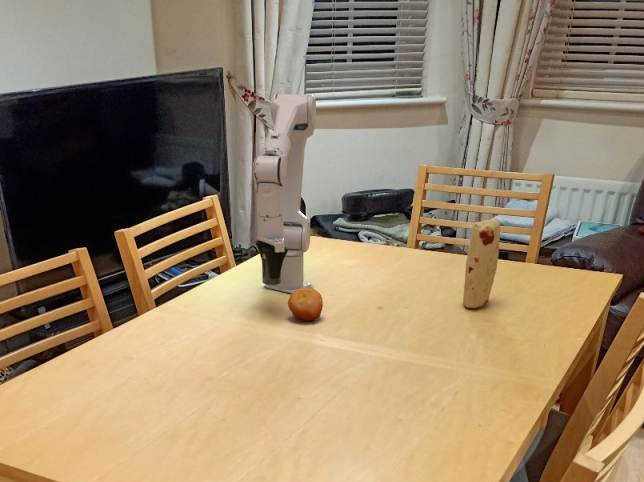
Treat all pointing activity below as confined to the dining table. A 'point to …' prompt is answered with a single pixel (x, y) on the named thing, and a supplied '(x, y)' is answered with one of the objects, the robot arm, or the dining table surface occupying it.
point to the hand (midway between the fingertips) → (271, 275)
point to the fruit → (305, 304)
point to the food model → (481, 262)
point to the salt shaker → (266, 276)
